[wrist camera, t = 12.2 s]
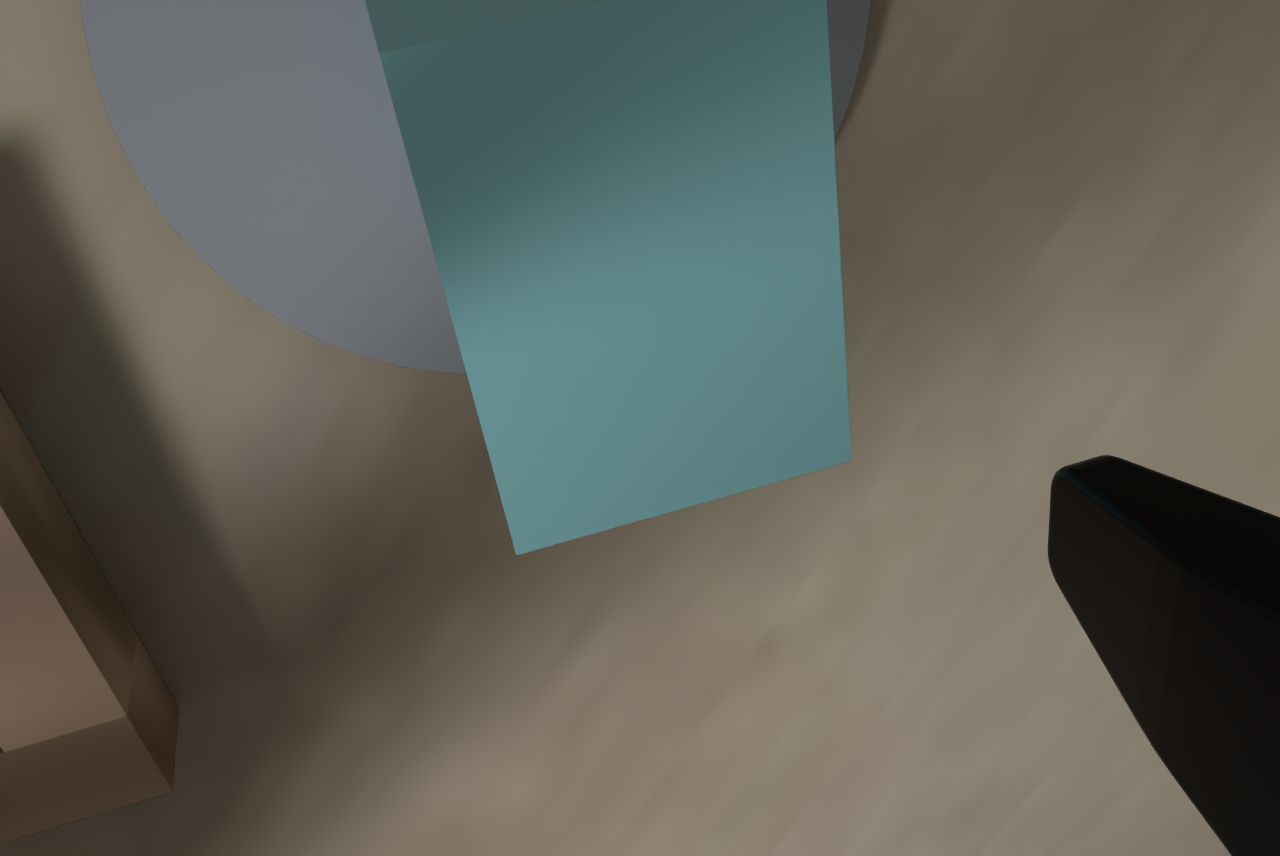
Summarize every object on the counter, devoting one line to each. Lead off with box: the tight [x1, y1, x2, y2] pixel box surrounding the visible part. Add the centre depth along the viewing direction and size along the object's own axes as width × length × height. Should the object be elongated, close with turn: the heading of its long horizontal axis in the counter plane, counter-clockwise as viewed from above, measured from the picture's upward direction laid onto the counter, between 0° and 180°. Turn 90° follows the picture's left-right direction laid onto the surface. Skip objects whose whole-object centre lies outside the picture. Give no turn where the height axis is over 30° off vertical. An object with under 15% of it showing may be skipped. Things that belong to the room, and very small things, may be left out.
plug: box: [365, 0, 852, 555], centre depth 14 cm, size 5×4×8 cm
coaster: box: [81, 0, 871, 374], centre depth 17 cm, size 11×11×1 cm
